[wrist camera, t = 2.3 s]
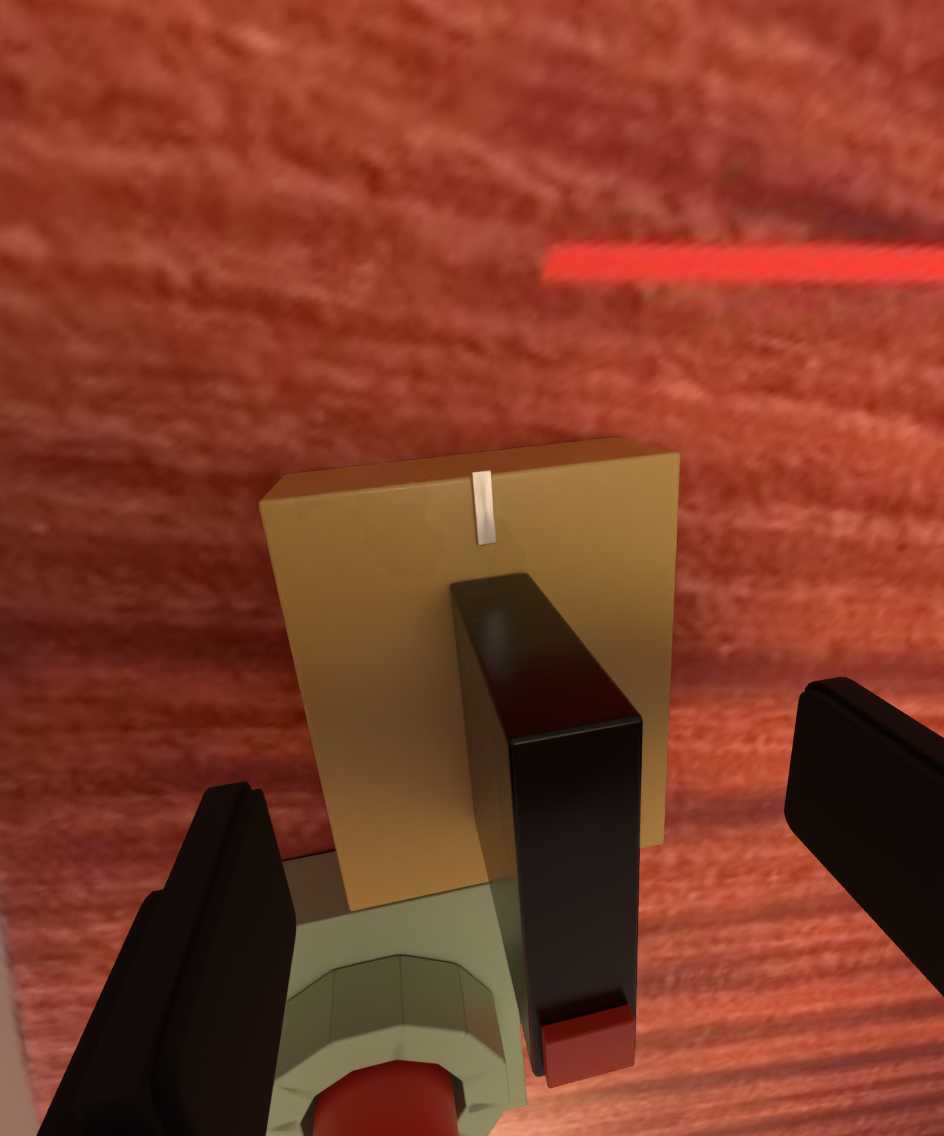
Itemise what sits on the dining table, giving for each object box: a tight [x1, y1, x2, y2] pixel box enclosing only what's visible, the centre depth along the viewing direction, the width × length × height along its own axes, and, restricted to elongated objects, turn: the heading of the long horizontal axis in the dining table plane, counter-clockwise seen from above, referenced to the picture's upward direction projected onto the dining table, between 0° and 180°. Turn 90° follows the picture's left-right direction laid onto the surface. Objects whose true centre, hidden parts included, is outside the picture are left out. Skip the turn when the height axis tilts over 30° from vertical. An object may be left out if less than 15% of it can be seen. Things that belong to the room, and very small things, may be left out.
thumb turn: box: [450, 573, 643, 1088], centre depth 9 cm, size 6×2×5 cm, turn 5°
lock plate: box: [258, 437, 680, 911], centre depth 13 cm, size 10×8×3 cm
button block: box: [266, 851, 527, 1136], centre depth 16 cm, size 10×8×4 cm
